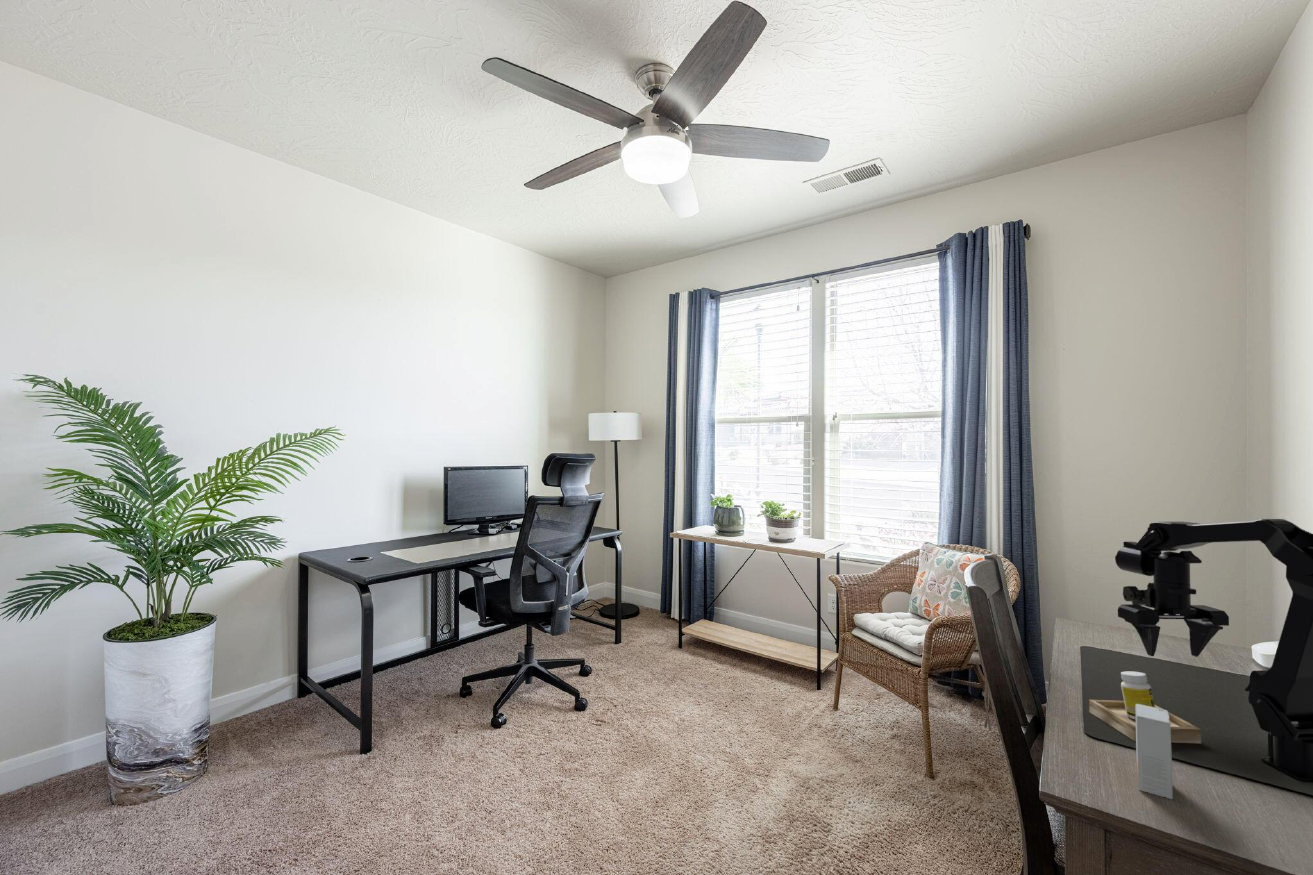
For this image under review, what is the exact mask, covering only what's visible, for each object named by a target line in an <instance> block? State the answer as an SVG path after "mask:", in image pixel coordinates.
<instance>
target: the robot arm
mask: <svg viewBox="0 0 1313 875" xmlns="http://www.w3.org/2000/svg"><path fill="white" fill-rule="evenodd" d="M1234 542H1235V543H1239V542H1261V543H1262V544H1264V546H1265V547H1266V548H1267V550H1268V551H1269V552H1270V554H1271V556H1272V557H1273V558H1275V559H1276V560H1277V561H1279V562H1280V563H1282V564H1283V565H1285V566H1286V567H1285V578H1286V581H1287V584H1288V585H1289V588H1290V589H1291V591H1292V595H1291V599H1290V602H1289V606H1288V610H1287V613H1286V617H1285V620H1284V623H1283V626H1282V630H1281V633H1280V637H1279V641H1278V644H1277V646H1276V647H1277V648H1276V649H1275V650H1276V651H1275V655H1274V658H1273V662H1272V665H1271V666H1270V668H1269V669H1264V670H1252V671H1251V672H1250V674H1249V683H1248V684H1247V686H1246V688H1244V691H1246V692H1248V694H1247V700H1248V703H1249V705H1251V707H1252V709H1253V712H1254V716H1255V717H1256V718H1255V719H1256V720H1257V722H1258V726H1259V728H1260V729H1261V730H1263V731H1265V732H1267V748H1268V749H1267V750H1268V752H1267V753H1268V754H1267V755H1268V756H1261V757H1260V761H1262V762H1264V763H1266V764H1268V765H1270V766H1271V767H1273V768H1275V769H1277V770H1279V771H1281V772H1283V773H1284V774H1287V775H1288V776H1290V777H1292V778H1294V779H1296V780H1299V781H1306V782H1307V781H1309V782H1310V781H1311V782H1313V533H1312V532H1309V531H1307V530H1305V529H1303V528H1300V527H1299V526H1298V525H1296V524H1295V523H1293V522H1291V521H1289V520H1287V519H1285V518H1260V519H1259V518H1258V519H1257V520H1248V521H1247V520H1245V521H1231V522H1220V523H1215V522H1214V523H1204V524H1203V523H1198V522H1189V521H1153V522H1150V523H1149V526H1148V527H1147V530H1146V532H1144V534H1143V535H1142V537H1141V538H1140V539H1139V541H1137V542H1136V541H1123V546H1122V547H1121V548H1119V549H1118V551H1117V553H1116V554H1115V555H1114V560H1115V564H1116V566H1117V567H1118V568H1119V569H1120V570H1122V571H1125V572H1130V573H1134V574H1138V575H1143V576H1147V577H1153V582H1148V584H1147V586H1146V587H1147V588H1146V589H1139V587H1137V586H1136V585H1127V586H1123V587H1122V596H1123V600H1124V601H1125V602H1131V603H1130V604H1128V603H1127V604H1123V603H1122V604H1120V605H1119V606H1118V608H1117V617H1118V618H1121V619H1123V620H1124V621H1125V622H1126V623H1129V624H1130V625H1132V627H1134V629H1135V630H1136V632H1137V634H1138V635H1139V637H1140V640H1141V642H1142V644H1143V647H1144V649H1145V651H1146V653H1147V655H1148V656H1150V657H1154V656H1155V654H1156V652H1157V647H1158V642H1159V637H1160V631H1161V626H1159V625H1157V624H1158V623H1159V622H1160V620H1183V621H1184V623H1185V624H1186V625H1187V627H1188V629H1189V630H1188V632H1189V633H1188V634H1189V647H1190V653H1191V656H1193V657H1197V658H1198V657H1199V655H1200V654H1201V653H1202V652H1203V651H1204V649H1206V646H1207V645H1208V644H1209V642H1210V641H1211V640H1213V638H1214V636H1216V635H1217V633H1219V631H1221V630H1224V627H1223V626H1225V627H1226V626H1230V616H1229V615H1228V613H1226V611H1225V610H1223V609H1218V608H1215V607H1212V606H1209V605H1205V604H1203V605H1202V604H1197V605H1196V604H1192V602H1191V599H1192V597H1191V596H1192V595H1197V589H1195V588H1192V587H1191V564H1202V561H1203V560H1201V559H1200V557H1198V556H1196V555H1195V554H1194V553H1193V552H1192V551H1191V550H1187V549H1193V548H1198V547H1203V546H1205V545H1207V544H1212V543H1234ZM1179 550H1181V551H1179ZM1176 551H1179V552H1176ZM1295 722H1297V723H1295Z"/></svg>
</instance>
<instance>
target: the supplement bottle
mask: <svg viewBox="0 0 1313 875" xmlns="http://www.w3.org/2000/svg"><path fill="white" fill-rule="evenodd" d="M1120 677H1121V680H1122V682H1121V683H1120V689H1121V692H1122V697H1123V701H1124V704H1125V708H1126V714H1127V716H1128V717H1130V718H1132V719H1135V720H1136V710H1135V708H1136V704H1141V705H1146V706H1150V707H1154V708H1155V705H1156V704H1155V700H1154V695H1153V690H1152V687H1151V685H1150V684H1149V683H1148V678H1147V674H1146V673H1145V672H1141V671H1140V672H1139V671H1130V670H1129V671H1128V670H1127V671H1121V672H1120Z"/></svg>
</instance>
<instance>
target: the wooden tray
mask: <svg viewBox="0 0 1313 875" xmlns="http://www.w3.org/2000/svg"><path fill="white" fill-rule="evenodd" d="M1088 703H1089V704H1088V708H1089V709H1088V712H1089V713H1090V714H1092V715H1093V716H1095V717H1096V718H1098V719H1099V720H1101V721H1103V722H1104V723H1106V725H1109V726H1110V727H1113V729H1115V730H1117V731H1118V732H1120V733H1121V734H1123V735H1124V736H1126V737H1127V738H1129V739H1131V740H1132V741H1133V742H1136V720H1135V719H1132V718H1130V717H1128V716H1127V714H1126V708H1125V704H1124V700H1117V699H1116V700H1113V699H1111V700H1108V699H1088ZM1155 708H1159V709H1163V710H1165V709H1164V708H1162V707H1161V706H1158V705H1156V704H1155ZM1168 714H1169V719H1170V726H1171V743H1177V744H1178V743H1180V744H1202V729H1201V728H1199V727H1197V726H1195V725H1194V724H1193V723H1192V724H1191V723H1190V722H1188V721H1186V720H1184V719H1182V718H1181V717H1179V716H1177V715H1175V714H1173V713H1172V712H1169V711H1168Z"/></svg>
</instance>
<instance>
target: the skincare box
mask: <svg viewBox="0 0 1313 875" xmlns="http://www.w3.org/2000/svg"><path fill="white" fill-rule="evenodd" d="M1163 709H1164V708H1162V709H1159V708H1154V707H1150V706H1146V705H1141V704H1136V708H1135V710H1136V741H1135V750H1136V751H1135V752H1136V773H1137V788H1138V790H1139V791H1140V790H1141V792H1145V793H1147V792H1148V794H1151V795H1154V794H1155V796H1157V797H1161V798H1164V797H1166V798H1165V799H1168V798H1169V800H1173V796H1174V795H1173V794H1174V793H1173V768H1172V767H1173V764H1172V763H1173V762H1172V759H1173V758H1172V757H1173V756H1172V742H1171V726H1170V719H1169V714H1168V712H1169V710H1167V709H1164V710H1163Z"/></svg>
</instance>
